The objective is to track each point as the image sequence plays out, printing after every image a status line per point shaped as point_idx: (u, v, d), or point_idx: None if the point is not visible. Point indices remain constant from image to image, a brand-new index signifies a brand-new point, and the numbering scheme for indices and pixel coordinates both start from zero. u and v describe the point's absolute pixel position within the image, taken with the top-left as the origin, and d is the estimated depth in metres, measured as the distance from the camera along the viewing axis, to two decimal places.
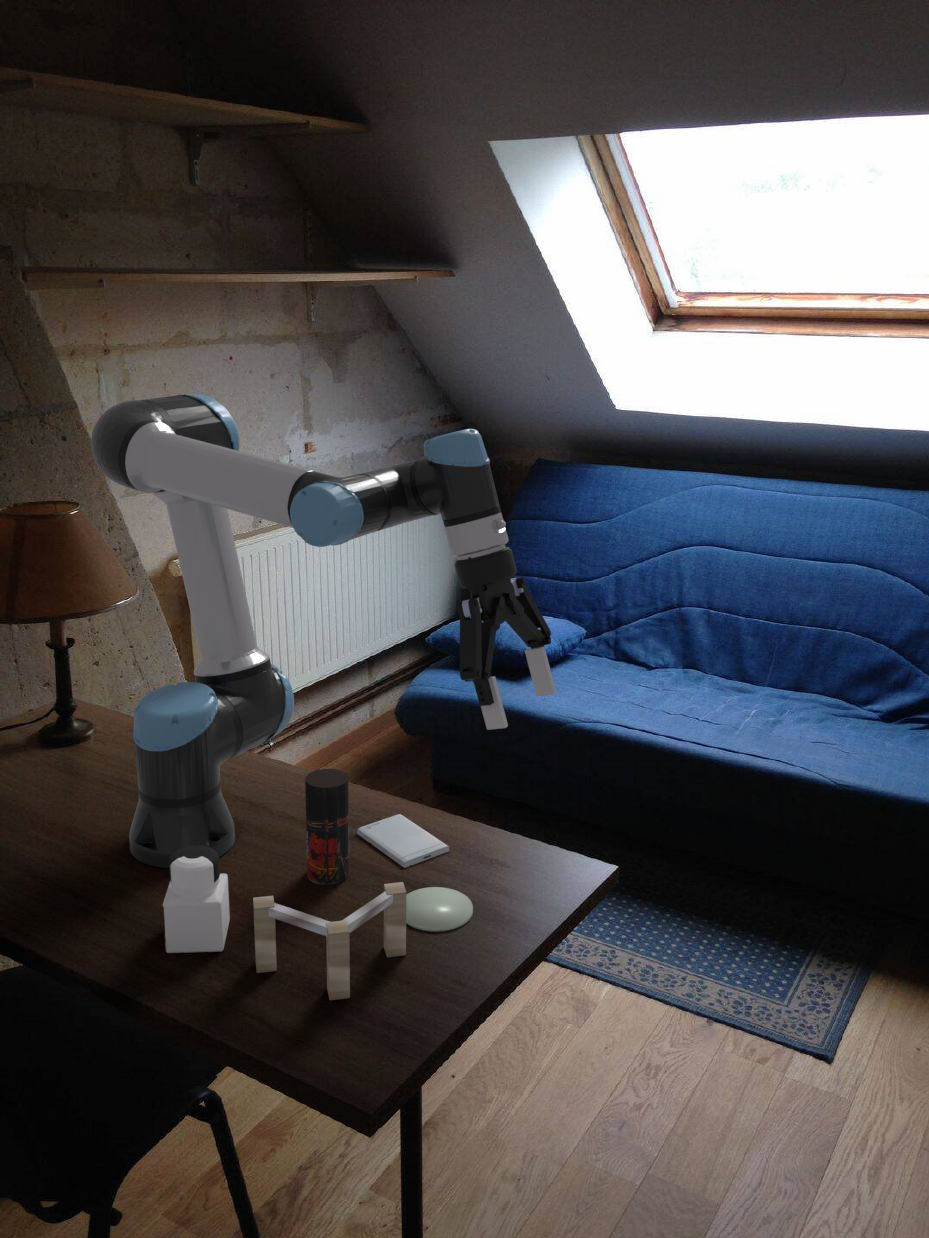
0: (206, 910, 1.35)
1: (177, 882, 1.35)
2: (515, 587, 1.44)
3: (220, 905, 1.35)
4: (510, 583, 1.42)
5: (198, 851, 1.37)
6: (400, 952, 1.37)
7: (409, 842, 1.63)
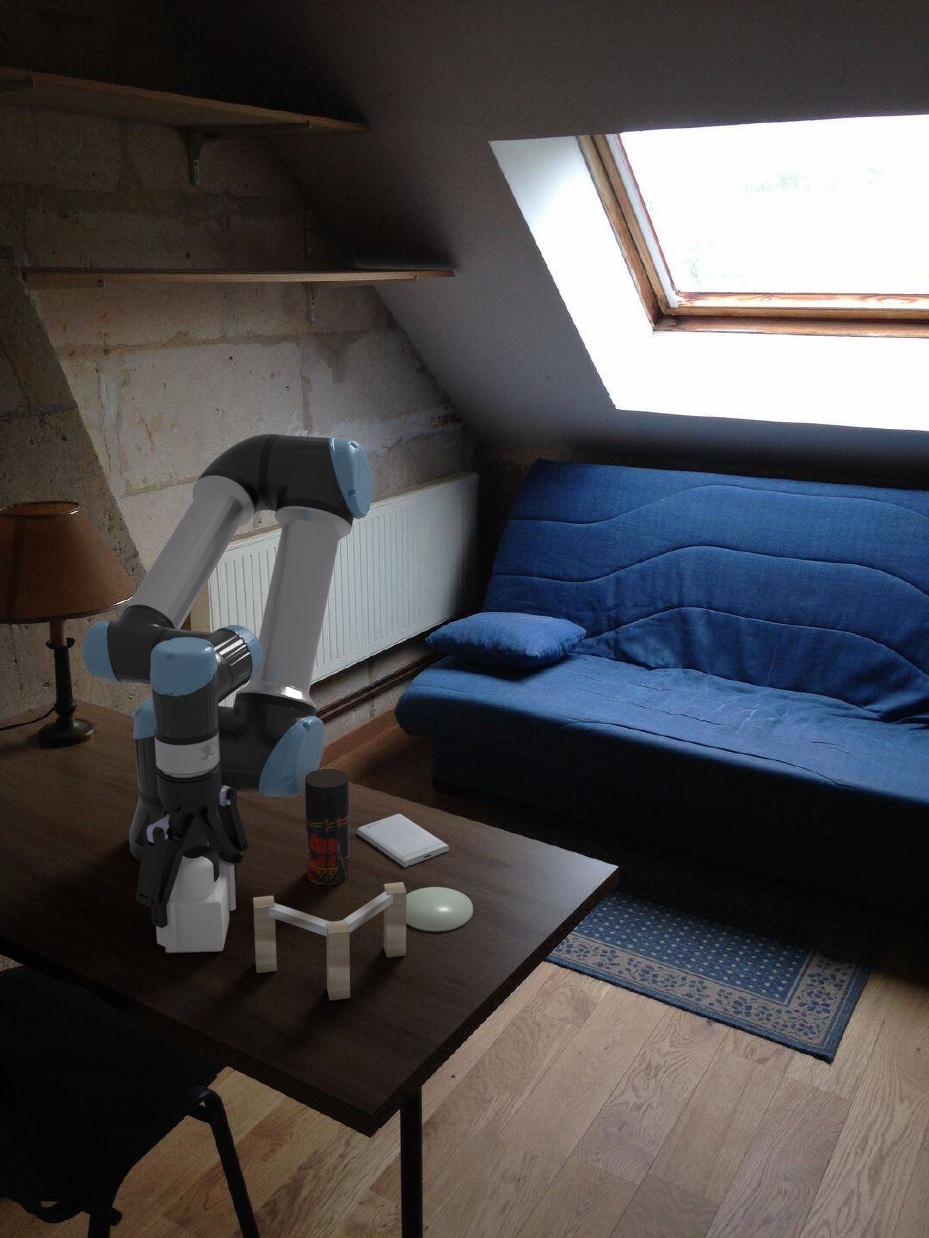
0: (206, 910, 1.35)
1: (176, 882, 1.35)
2: (223, 797, 1.39)
3: (220, 905, 1.35)
4: None
5: (198, 851, 1.37)
6: (400, 952, 1.37)
7: (409, 842, 1.63)
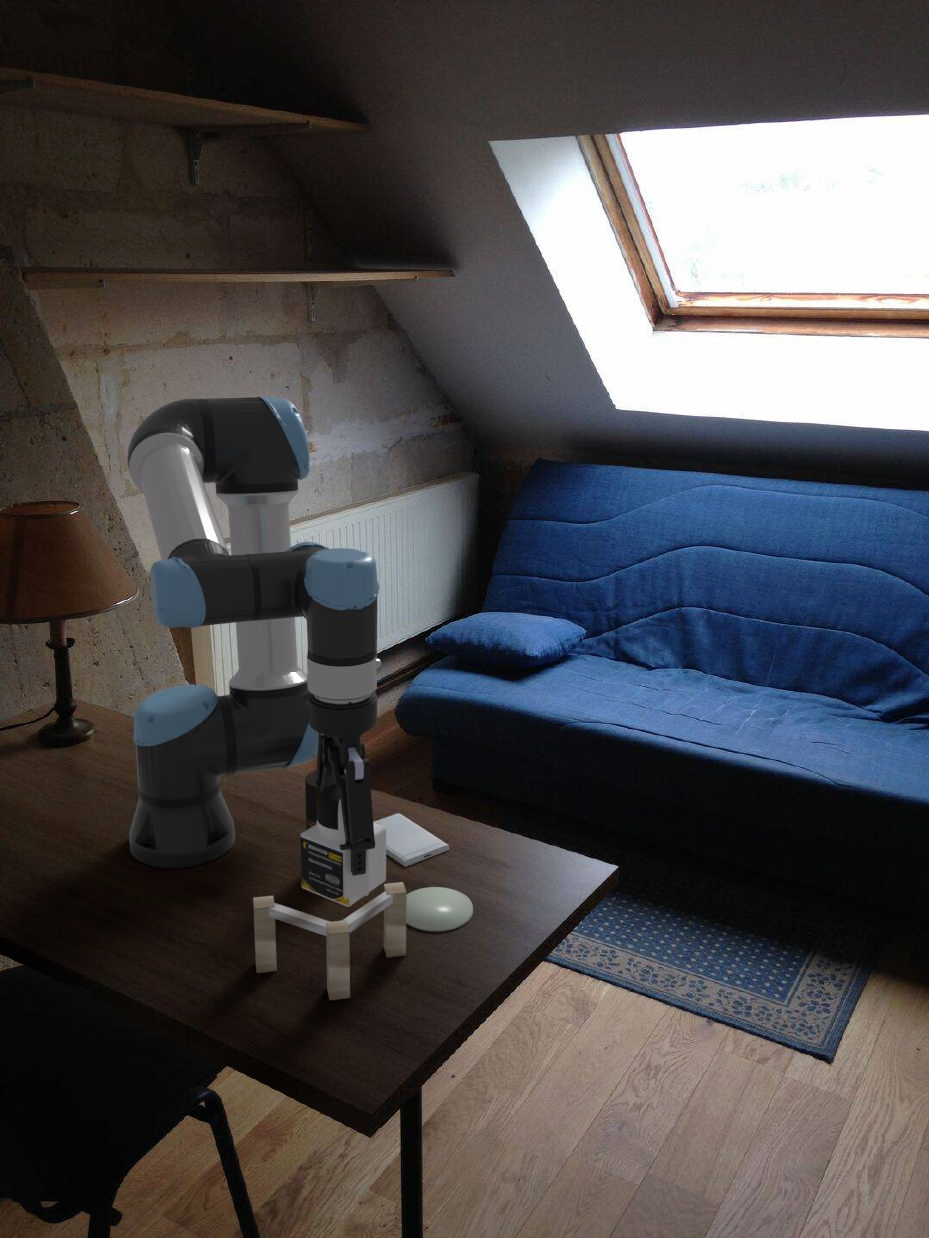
0: (378, 841, 1.25)
1: None
2: None
3: (385, 830, 1.26)
4: None
5: None
6: (400, 952, 1.37)
7: (409, 841, 1.63)
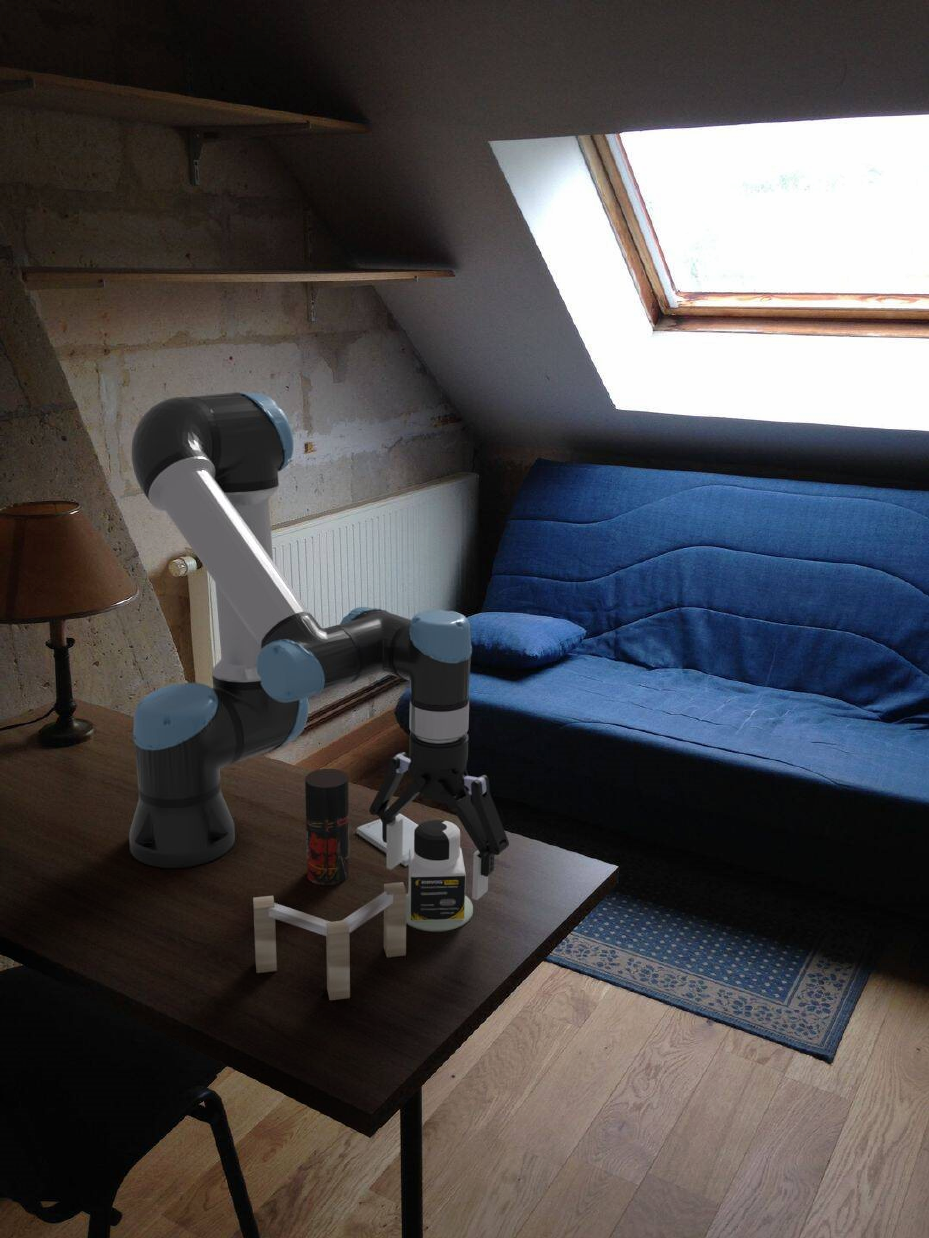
0: None
1: (456, 851, 1.43)
2: None
3: (460, 849, 1.49)
4: None
5: (433, 824, 1.44)
6: (400, 952, 1.37)
7: (409, 841, 1.63)
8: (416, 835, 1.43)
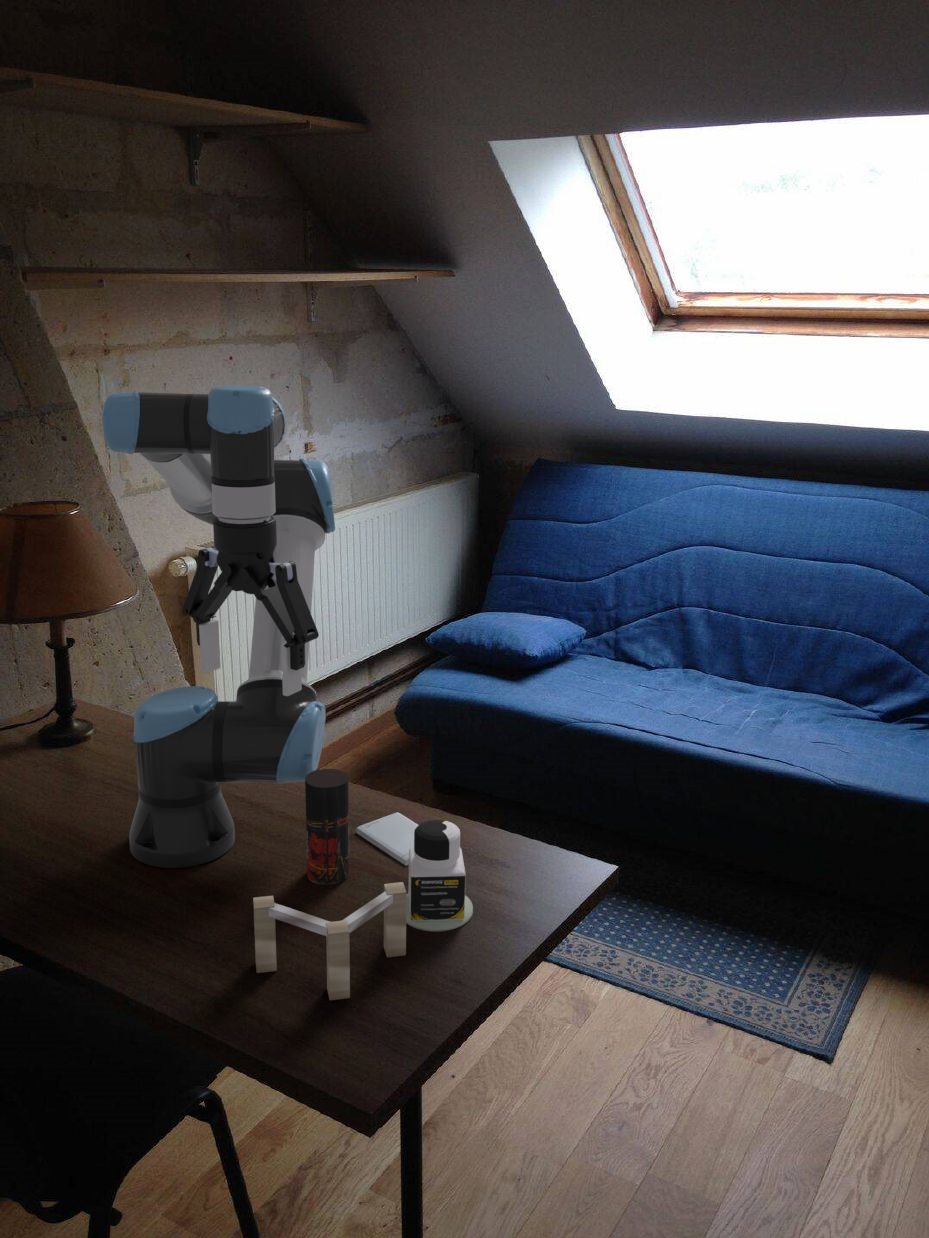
0: None
1: (456, 851, 1.43)
2: None
3: (460, 849, 1.49)
4: None
5: (433, 824, 1.44)
6: (400, 952, 1.37)
7: (409, 840, 1.63)
8: (416, 835, 1.43)
